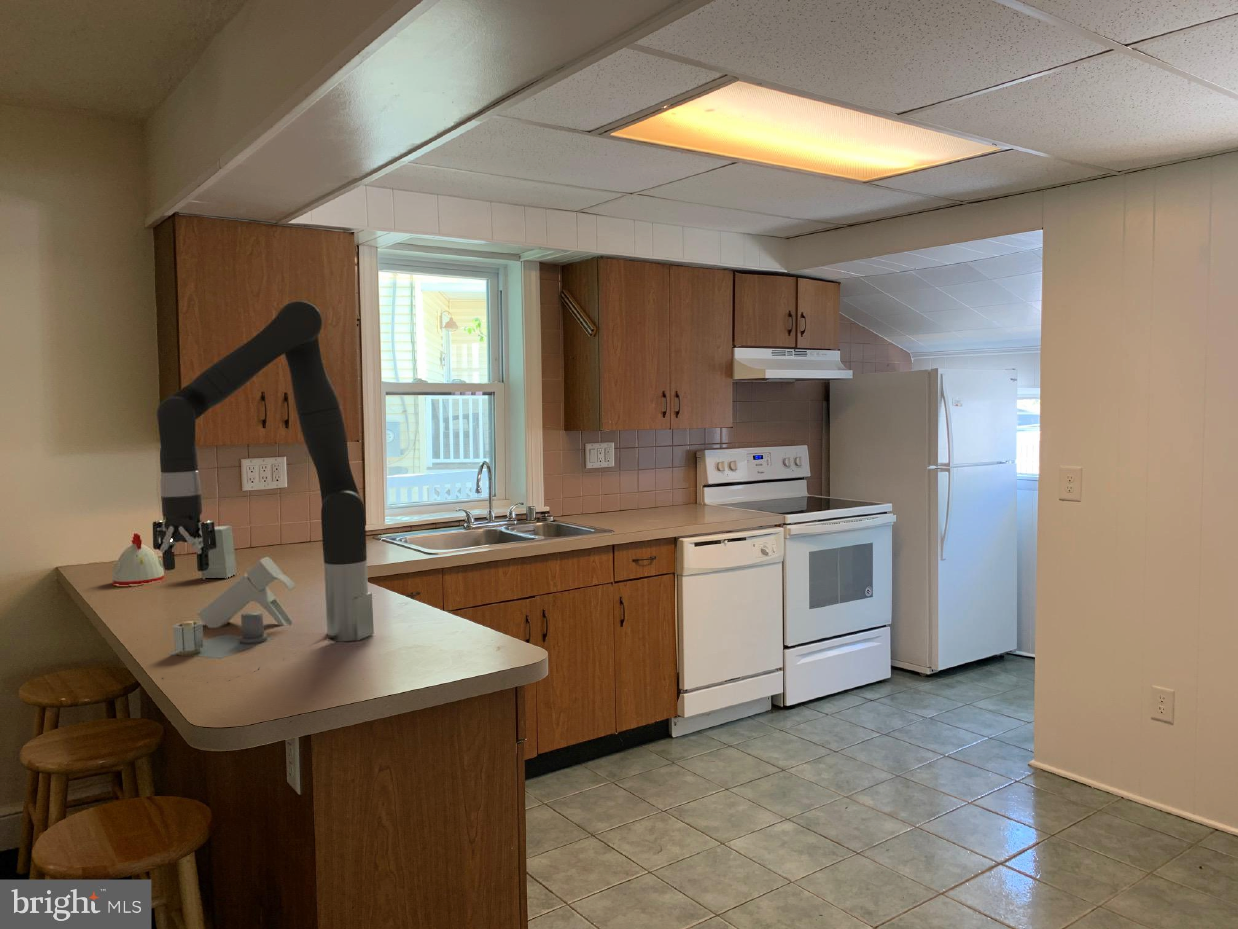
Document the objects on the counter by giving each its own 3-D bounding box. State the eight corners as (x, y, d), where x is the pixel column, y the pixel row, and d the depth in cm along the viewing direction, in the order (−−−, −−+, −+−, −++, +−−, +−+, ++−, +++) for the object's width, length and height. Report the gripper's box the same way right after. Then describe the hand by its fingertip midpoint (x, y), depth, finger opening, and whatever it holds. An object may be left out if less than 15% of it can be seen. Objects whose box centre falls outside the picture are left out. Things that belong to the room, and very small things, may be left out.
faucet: (207, 607, 218) (269, 553, 217) (253, 657, 219) (315, 604, 218) (195, 613, 212) (259, 557, 211) (242, 665, 213) (306, 610, 212)
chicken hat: (119, 589, 268) (116, 538, 267) (108, 582, 278) (105, 534, 277) (170, 582, 277) (167, 533, 276) (157, 576, 287) (154, 529, 286)
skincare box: (237, 575, 285) (234, 525, 284) (225, 579, 278) (222, 528, 277) (211, 575, 286) (208, 525, 285) (199, 580, 279) (196, 528, 278)
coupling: (209, 645, 192) (207, 621, 192) (189, 652, 187) (188, 628, 187) (188, 643, 194) (187, 620, 194) (169, 650, 189) (167, 626, 188)
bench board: (274, 643, 201) (272, 609, 200) (221, 664, 186) (219, 627, 185) (222, 639, 205) (220, 606, 205) (167, 659, 190) (164, 623, 190)
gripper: (222, 491, 190) (227, 568, 192) (167, 491, 195) (172, 566, 196) (195, 495, 183) (200, 574, 184) (139, 495, 188) (144, 572, 189)
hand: (186, 570), depth 190 cm, fingers open, 8 cm apart
